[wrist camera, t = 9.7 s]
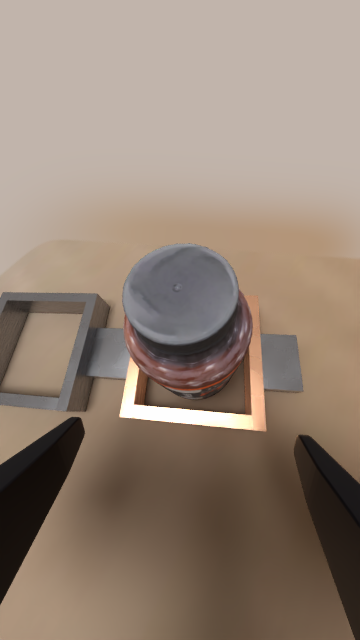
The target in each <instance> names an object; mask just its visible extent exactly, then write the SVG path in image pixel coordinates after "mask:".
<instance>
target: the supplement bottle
mask: <svg viewBox="0 0 360 640" xmlns="http://www.w3.org/2000/svg"><path fill="white" fill-rule="evenodd" d="M122 302H123V307H124V312H125V318H124V326H123V329H124V339H125V343H126V347H127V349H128V352H129V354H130V356H131V358H132V360H133V361H134V363H135V364H136V365H137V366H138V368H139V369H140V370H141V371H142V372H143V373H144V374H145V375H147V376H148V377H149V378H151V379H152V380H154V381H155V382H157V383H158V384H160V385H161V386H163V387H165V388H166V389H168V390H169V391H171V392H173V393H174V394H176V395H178V396H180V397H183V398H187V399H203V398H207V397H210V396H212V395H214V394H216V393H217V392H219V391H220V390H221V389H222V388H223V387H224V386H225V385H226V384H227V383H228V382H229V380H230V378H231V376H232V375H233V374H234V372H235V371H236V370H237V368H238V366H239V365H240V363H241V362H242V360H243V358H244V356H245V355H246V353H247V351H248V348H249V345H250V343H251V337H252V330H253V322H252V315H251V310H250V307H249V306H248V303H247V300H246V299H245V297H244V295H243V293H242V292H241V291H240V289H239V287H238V281H237V277H236V275H235V272H234V270H233V268H232V267H231V266H230V264H229V263H228V262H227V260H226V259H224V258H223V257H222V256H221V255H219V254H218V253H216V252H214V251H213V250H210V249H208V248H207V247H202V246H199V245H196V244H190V243H188V244H174V245H168V246H164V247H162V248H159V249H157V250H154V251H152V252H151V253H149V254H147V255H146V256H145V257H143V258H142V259H140V261H139V262H138V263H137V264H135V266H134V267H133V268H132V270H131V272H130V273H129V275H128V276H127V279H126V281H125V283H124V287H123V301H122Z"/></svg>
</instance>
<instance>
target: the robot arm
mask: <svg viewBox="0 0 360 640" xmlns="http://www.w3.org/2000/svg"><path fill="white" fill-rule="evenodd" d="M84 434H85V430H84V426H83V423H82V419H81V418H79V417H71V418H69V419H67V420H66V421H64V422H63V423H61V424H60V425H59V426H57V427H56V428H54V429H53V430H51V431H50V432H48V433H47V434H45V435H44V436H42V437H41V438H39V439H38V440H36V441H35V442H33V443H32V444H30V445H29V446H27V447H26V448H25V449H23V450H22V451H20V452H19V453H17V454H16V455H14V456H13V457H11V458H10V459H8V460H7V461H5V462H4V463H2V464H1V465H0V605H1V603H2V601H3V599H4V597H5V595H6V593H7V591H8V589H9V587H10V585H11V583H12V582H13V580H14V578H15V576H16V574H17V572H18V570H19V568H20V566H21V564H22V562H23V560H24V558H25V557H26V555H27V553H28V551H29V549H30V547H31V545H32V543H33V541H34V539H35V537H36V535H37V534H38V532H39V530H40V528H41V526H42V524H43V522H44V520H45V518H46V516H47V514H48V512H49V510H50V509H51V507H52V505H53V503H54V501H55V499H56V497H57V495H58V493H59V491H60V489H61V487H62V485H63V484H64V482H65V480H66V478H67V476H68V474H69V471H70V469H71V467H72V464H73V462H74V460H75V457H76V455H77V452H78V450H79V447H80V445H81V443H82V440H83V438H84ZM294 456H295V460H296V464H297V468H298V472H299V476H300V480H301V484H302V488H303V491H304V495H305V499H306V503H307V506H308V509H309V511H310V514H311V517H312V520H313V523H314V525H315V528H316V531H317V534H318V537H319V540H320V542H321V545H322V548H323V551H324V554H325V556H326V559H327V562H328V565H329V568H330V570H331V573H332V576H333V579H334V582H335V584H336V587H337V590H338V593H339V596H340V598H341V601H342V604H343V607H344V610H345V612H346V615H347V618H348V621H349V624H350V626H351V629H352V632H353V635H354V638H355V640H360V484H359V483H358V482H357V481H356V480H355V479H354V478H353V477H352V476H351V475H350V474H349V473H348V472H347V471H346V470H345V469H344V468H343V467H342V466H341V465H340V464H338V463H337V462H336V461H335V460H334V459H333V458H332V457H331V456H330V455H329V454H328V453H327V452H326V451H325V450H324V449H323V448H322V447H321V446H320V445H319V444H318V443H317V442H316V441H315V440H314V439H313V438H312V437H310V436H308V435H297V437H296V442H295V447H294Z"/></svg>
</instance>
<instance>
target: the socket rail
mask: <svg viewBox="0 0 360 640" xmlns="http://www.w3.org/2000/svg"><path fill="white" fill-rule="evenodd" d="M244 297H245V299H246V300H247V303H248V306H249V307H250V310H251V315H252V322H253V330H252V337H251V343H250V345H249V348H248V351H247V353H246V355H245V356H244V384H245V415H241V414H230V413H219V412H208V411H197V410H186V409H175V408H164V407H153V406H144V400H145V393H146V386H147V378H148V376H147V375H145V374H144V373H143V372H142V371H141V370H140V369H139V368H138V366H137V365H136V364H135V363H134V361H133V360H132V358H131V356H130V354H129V352H128V349H127V347H126V343H125V339H124V329H116V328H105V325H106V321H107V317H108V312H109V308H110V306H109V305H108V304H107V303H106V302H105V301H104V300H103V299H102V298H101V297H100V296H99V295H98V294H87V293H12V292H3V293H2V295H1V297H0V384H1V382H2V379H3V377H4V374H5V372H6V369H7V366H8V364H9V361H10V359H11V356H12V354H13V351H14V348H15V346H16V343H17V341H18V338H19V336H20V333H21V330H22V328H23V325H24V323H25V320H26V318H27V315H28V313H29V312H38V313H74V314H83V315H82V319H81V322H80V326H79V329H78V333H77V337H76V340H75V344H74V347H73V351H72V354H71V358H70V361H69V365H68V368H67V372H66V375H65V379H64V383H63V386H62V390H61V393H60V397H59V398H54V397H43V396H32V395H21V394H10V393H0V405H8V406H18V407H27V408H37V409H47V410H57V411H86V407H87V403H88V398H89V394H90V390H91V386H92V381H93V378H104V379H118V380H126V383H125V389H124V395H123V401H122V406H121V412H120V417H127V418H137V419H147V420H157V421H167V422H177V423H187V424H197V425H207V426H217V427H227V428H237V429H247V430H257V431H266V417H265V401H264V390H267V391H280V392H294V393H298V392H303V384H302V376H301V368H300V361H299V353H298V345H297V338H296V335H274V334H260V322H259V306H258V296H244Z"/></svg>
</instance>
